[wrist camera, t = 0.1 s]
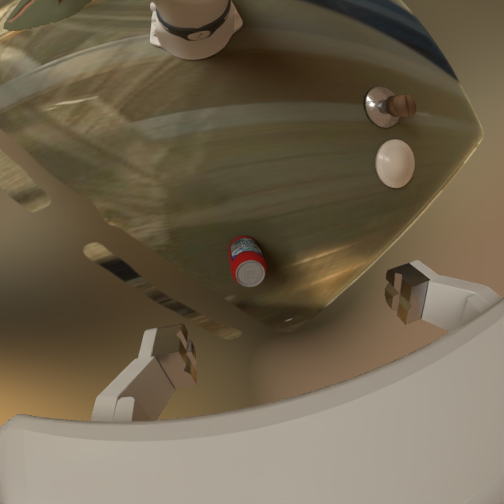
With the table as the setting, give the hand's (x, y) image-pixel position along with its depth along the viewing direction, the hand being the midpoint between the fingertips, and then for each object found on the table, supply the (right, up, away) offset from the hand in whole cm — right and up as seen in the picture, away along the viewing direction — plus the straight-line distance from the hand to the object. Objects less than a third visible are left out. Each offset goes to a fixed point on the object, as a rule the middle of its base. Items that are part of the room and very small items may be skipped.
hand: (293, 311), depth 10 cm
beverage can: (-4, +3, +51) cm, 51 cm away
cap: (+29, +34, +37) cm, 58 cm away
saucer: (+33, +24, +48) cm, 63 cm away
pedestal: (+28, +36, +42) cm, 62 cm away
